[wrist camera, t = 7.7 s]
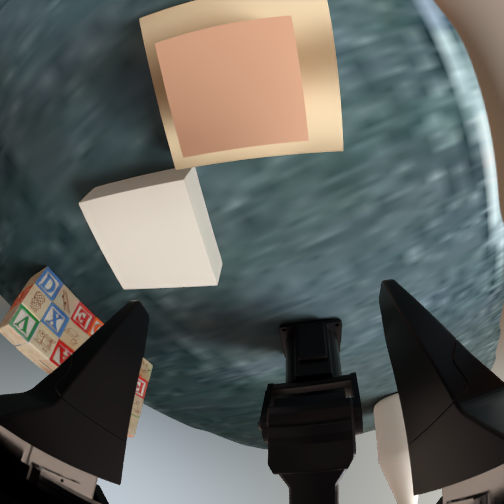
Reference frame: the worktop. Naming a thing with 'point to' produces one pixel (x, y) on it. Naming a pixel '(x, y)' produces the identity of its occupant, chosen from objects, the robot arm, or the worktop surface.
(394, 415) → the wine bottle
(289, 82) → the terracotta cube
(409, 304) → the robot arm
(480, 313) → the worktop surface
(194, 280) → the white plastic slab
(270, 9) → the birch slab
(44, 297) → the stack of blocks
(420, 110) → the worktop surface
